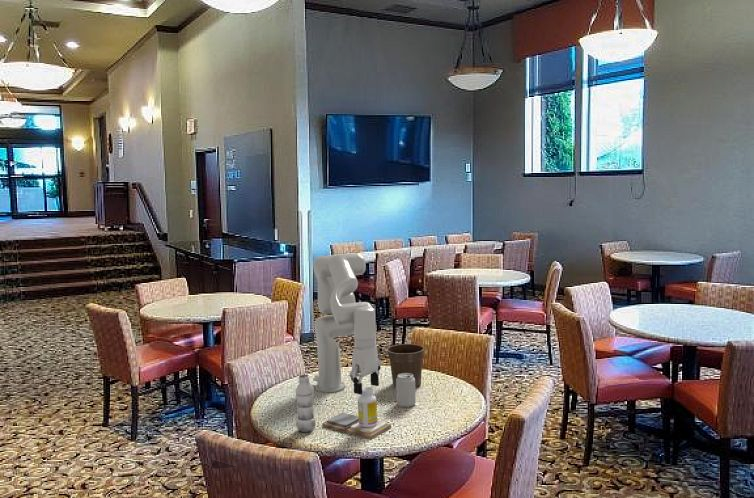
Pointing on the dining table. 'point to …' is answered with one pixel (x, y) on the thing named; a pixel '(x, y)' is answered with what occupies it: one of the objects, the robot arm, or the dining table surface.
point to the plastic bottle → (305, 404)
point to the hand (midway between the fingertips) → (366, 389)
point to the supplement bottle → (367, 408)
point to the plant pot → (406, 361)
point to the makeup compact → (355, 426)
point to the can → (405, 390)
